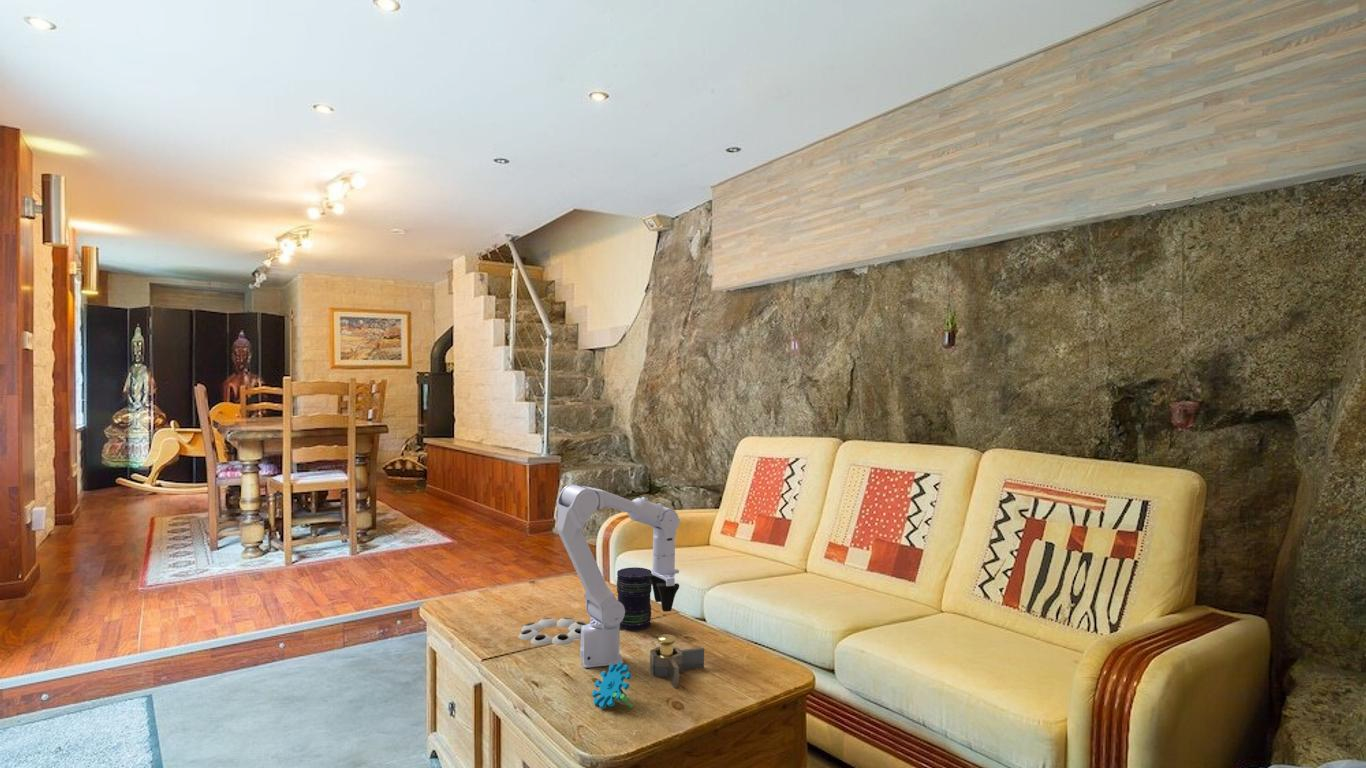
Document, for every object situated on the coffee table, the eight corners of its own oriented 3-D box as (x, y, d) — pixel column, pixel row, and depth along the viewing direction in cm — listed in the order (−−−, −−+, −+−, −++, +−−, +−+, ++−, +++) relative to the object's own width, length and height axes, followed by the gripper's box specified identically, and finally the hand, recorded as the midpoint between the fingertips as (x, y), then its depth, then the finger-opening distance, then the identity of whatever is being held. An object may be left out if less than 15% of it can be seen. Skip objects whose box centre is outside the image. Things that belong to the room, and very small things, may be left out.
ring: (600, 640, 182) (600, 633, 182) (526, 652, 173) (527, 644, 173) (578, 617, 199) (578, 610, 199) (510, 627, 191) (510, 620, 191)
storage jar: (618, 618, 197) (619, 566, 197) (652, 619, 197) (653, 567, 197) (613, 631, 188) (614, 576, 188) (649, 632, 187) (650, 577, 187)
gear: (583, 688, 148) (616, 652, 151) (600, 702, 151) (632, 666, 153) (602, 717, 139) (636, 678, 141) (619, 732, 141) (653, 693, 144)
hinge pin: (659, 675, 159) (660, 641, 159) (656, 668, 163) (656, 635, 163) (676, 673, 160) (677, 639, 160) (672, 667, 164) (673, 633, 164)
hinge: (661, 689, 152) (661, 669, 152) (647, 666, 165) (648, 647, 165) (715, 683, 156) (716, 663, 156) (698, 660, 168) (698, 642, 168)
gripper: (686, 559, 171) (685, 614, 171) (671, 546, 185) (670, 596, 185) (659, 561, 169) (658, 616, 169) (646, 547, 183) (645, 598, 183)
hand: (663, 606), depth 177 cm, fingers open, 7 cm apart
